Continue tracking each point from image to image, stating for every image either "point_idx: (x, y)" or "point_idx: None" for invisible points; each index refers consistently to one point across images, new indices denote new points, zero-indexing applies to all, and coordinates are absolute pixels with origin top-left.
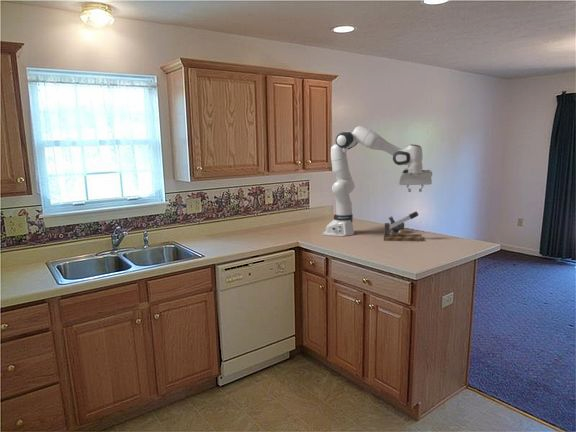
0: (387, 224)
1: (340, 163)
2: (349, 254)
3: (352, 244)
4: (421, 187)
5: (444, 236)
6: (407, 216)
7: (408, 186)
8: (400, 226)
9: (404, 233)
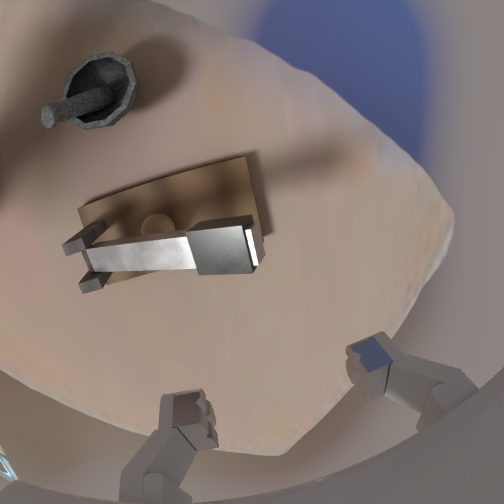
0: (89, 280)
1: None
2: (119, 425)
3: (59, 352)
4: (411, 399)
5: (337, 117)
6: (180, 251)
7: (185, 496)
8: (122, 115)
9: (174, 228)
